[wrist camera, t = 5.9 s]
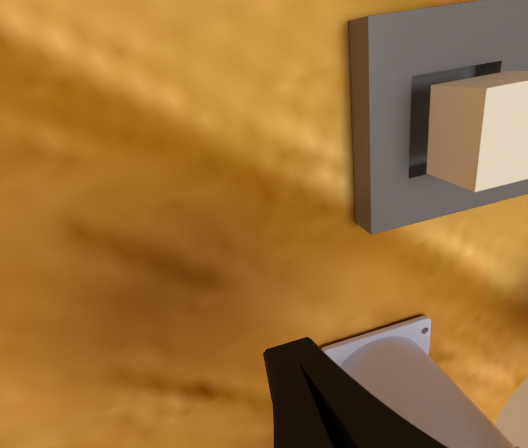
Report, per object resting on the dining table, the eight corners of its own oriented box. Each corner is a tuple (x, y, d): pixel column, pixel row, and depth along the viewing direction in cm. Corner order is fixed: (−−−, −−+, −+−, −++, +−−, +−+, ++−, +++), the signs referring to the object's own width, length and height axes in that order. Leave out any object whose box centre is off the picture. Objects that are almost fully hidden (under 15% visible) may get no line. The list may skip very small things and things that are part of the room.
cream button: (496, 156, 18) (554, 172, 16) (426, 173, 18) (474, 192, 15) (508, 71, 17) (575, 71, 14) (430, 85, 16) (486, 88, 13)
